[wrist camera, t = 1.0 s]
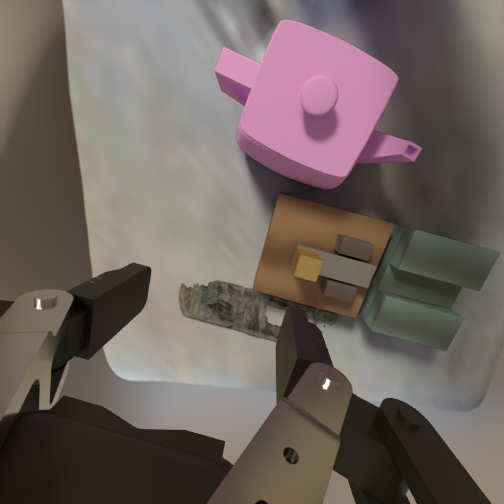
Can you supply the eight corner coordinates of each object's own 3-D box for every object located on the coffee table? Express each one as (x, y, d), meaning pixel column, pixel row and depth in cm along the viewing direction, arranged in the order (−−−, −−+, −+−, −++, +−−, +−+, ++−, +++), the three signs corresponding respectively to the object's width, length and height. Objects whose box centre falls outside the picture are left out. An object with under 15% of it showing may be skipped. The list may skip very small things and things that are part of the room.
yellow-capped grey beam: (296, 241, 25) (301, 252, 21) (370, 261, 25) (392, 277, 21) (289, 262, 26) (293, 278, 21) (361, 282, 26) (381, 302, 21)
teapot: (404, 119, 26) (487, 74, 16) (353, 210, 29) (396, 220, 19) (250, 43, 25) (237, -51, 15) (213, 143, 28) (180, 118, 18)
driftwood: (175, 309, 34) (170, 317, 32) (186, 265, 32) (180, 270, 30) (317, 351, 34) (320, 361, 32) (334, 309, 33) (339, 317, 30)
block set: (278, 192, 29) (280, 193, 23) (453, 239, 28) (500, 252, 22) (255, 277, 31) (251, 297, 26) (413, 321, 31) (446, 351, 25)
